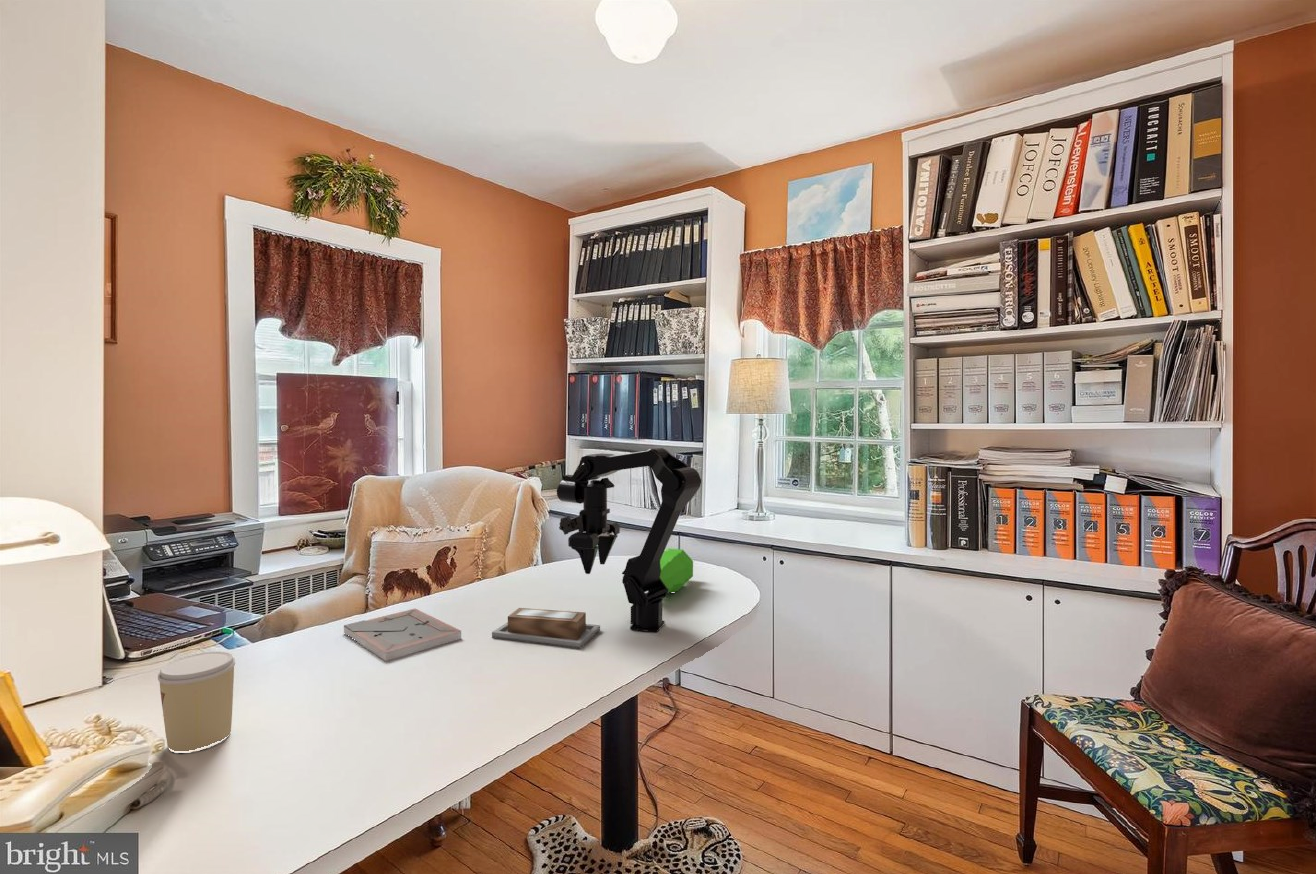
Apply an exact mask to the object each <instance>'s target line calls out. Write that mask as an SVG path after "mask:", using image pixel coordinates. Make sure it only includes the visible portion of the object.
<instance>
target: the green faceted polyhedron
mask: <svg viewBox="0 0 1316 874" xmlns="http://www.w3.org/2000/svg"><path fill="white" fill-rule="evenodd" d="M660 566H661V574H660V579H661V580H662V582H663V583H664V584H665V586H666V587H667V588H668V593H667V594H670V593H669V592H675V591H677V592H678V591H679V590H680V589H681V588H682V587H684V586H685V584H686V583H687V582H689V580H690V579H692V578H693V577H694V560H693V559H692V558H691V557H690V556H689V555H688V554H687V553H686V551H685V550H684V549H679V548H667V549H665V550H664V553H663V555H662V557H661V560H660Z"/></svg>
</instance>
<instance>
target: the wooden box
mask: <svg viewBox="0 0 1316 874" xmlns="http://www.w3.org/2000/svg"><path fill="white" fill-rule="evenodd" d="M586 617H587V612H585V611H584V612H581V611H568V610H554V609H542V608H541V609H540V608H526V607H518V608H517V609H516V610H514V611H512V613H511V614H509V615H508V616H507V622H508V632H510V633H519V634H527V635H535V636H543V637H551V638H560V639H572V640H578V638H579V637H580V636H581V635H582V634H583V633H584V631H585V630H586V624H587V623H586V622H587V619H586Z"/></svg>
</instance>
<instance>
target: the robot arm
mask: <svg viewBox="0 0 1316 874" xmlns="http://www.w3.org/2000/svg"><path fill="white" fill-rule="evenodd" d="M645 467H649V468H650V469H651V470H652V472H653V474H654V477H655V478H656V479H657V480H658V482H659V483H660V484H661V489H660V494H661V495H660V496H661V504H660V506H659V509H658V510H657V513H656V516H655V517H654V521H653V523H652V525H651V528H650V529H649V533H648V534H647V538H646V540H645V542H644V545H643V548H642V549H641V551H640V554H639V555H636V556H634V557H629V558H628V560H627V562H626V565H625V568H624V570H623V571H622V573H621V575H623V576H622V580H621V581H622V584H623V587H624V591H625V594H626V597H627V601H628V603H629V604H632V605H631V606H630V627H629V629H630V630H633V631H643V632H651V633H658V630H659V631H660V629H662V627H663V626H664V625H665V620H663V599H664V598H667V595H668V594H669V593H668V588H667V587H666V586H665V584H664V583H663V582H662V580H661V579H660V574H661V566H660V560H661V557H662V555H663V553H664V551H666V548H667V546H668V543H669V542H670V538H671V536H672V534H673V531H674V529H675V527H676V525H677V522H678V520H679V517H680V515H681V512H682V511H683V509H684V507H685V506H686V505H687V504H688V503H689V502H690V501H692V499H693V498H694V496H695V495H696V494H697V492H698V490H699V488H700V487H701V484H702V478H701V475H700V474H699V472H698V470H696V469H695V468H694V467H691V466H689V465H688V464H687V463H686V462H684V461H683V460H682V459H679V458H677V457H676V456H674V455H672V454H671V453H670V452H669V451H668V450H667V449H665V448H663V447H656V448H649V449H647V450H642V451H636V452H628V453H621V454H613V453H605V452H604V453H602V452H601V453H594V454H592V453H591V454H585V455H582V457H581V458H580V460H579V464H578V466H577V467H576V469H575V471H574V473H573V474H564V475H562V480H561V481H560V482H559V484H558V486H557V489H556V496H557V499H559V501H561V502H564V503H572V504H573V503H574V504H581V505H582V504H583V505H582V506H583V509H581V510H580V511H579V513H578V514H579V515H578V516H575V517H572V518H571V517H570V516H565V517H561V518H560V521H559V527H558V528H559V530H561V532H562V533H563V535H565V536H566V535H568V534H569V533H572V532H574V531H576V532H575V533H572V534H571V535H570V536H569V537H568V539H567V545H568V547H569V548H571V549H572V550H574V551H575V552H577V553H578V554H579V558H580V560H581V561H580V562H581V563H582V567H583V570H584V573H585V575H590V574H591V573H592V570H593V567H594V563H595V560H596V557H597V553H598V559H599V565H602V566H603V565H605V564H606V562H607V560H608V557H609V555H610V553H611V551H612V548H613V546H614V544H615V542H616V540H617V538H618V536H619V535H618V534H620V533H621V531H620V530H621V526H620V525H619V523H618V521H608V514H610V512H611V508H608V489H611V488H615V484H614V483H613V482H612V481H611V480H610V479H609V478H608V477H607V476H610V475H613V474H615V473H617V472H618V471H622V470H628V469H630V470H631V469H636V468H638V469H639V468H645ZM604 477H605V478H604ZM600 478H601V479H600ZM598 479H599V480H598ZM663 624H664V625H663ZM662 625H663V626H662ZM661 626H662V627H661Z"/></svg>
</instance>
